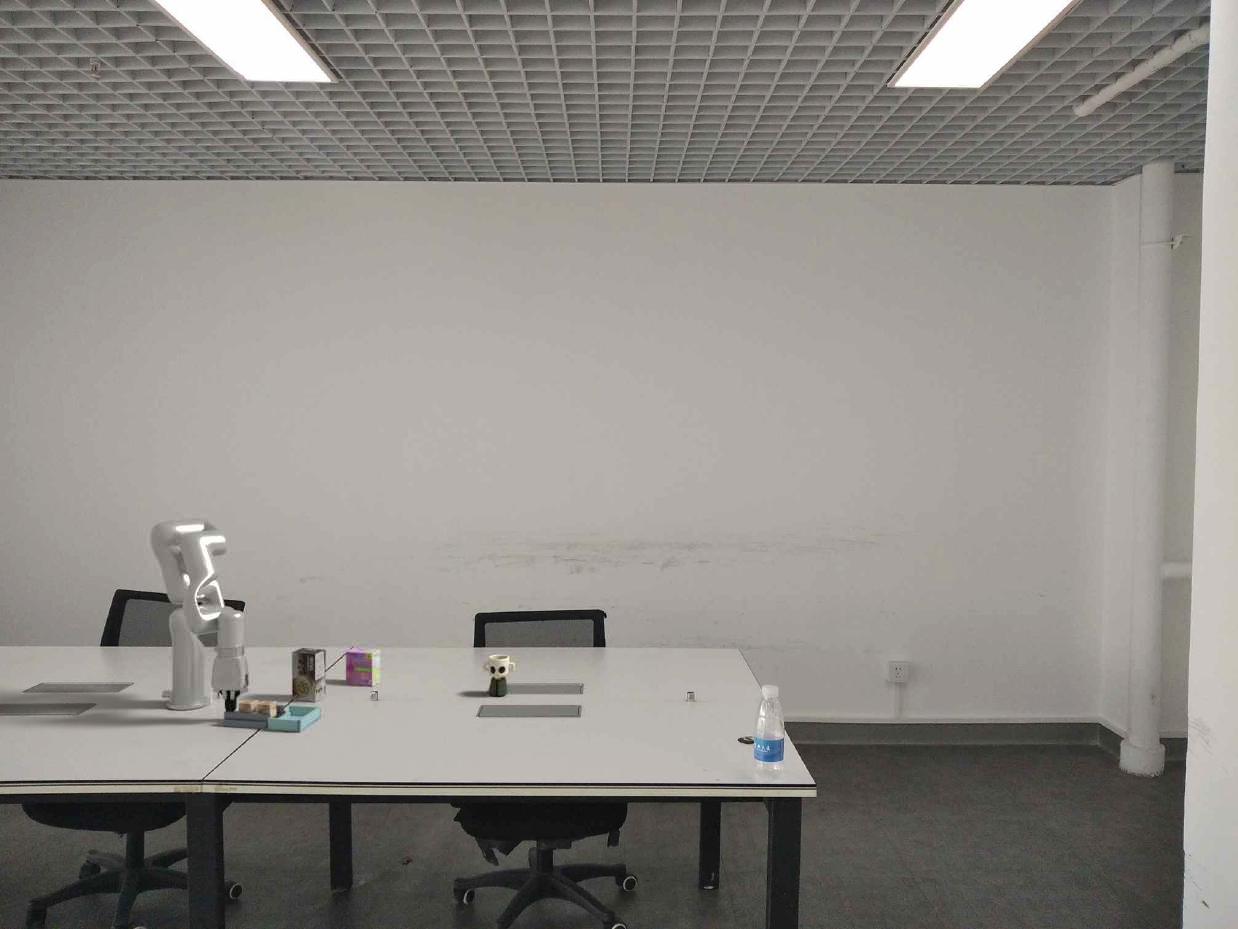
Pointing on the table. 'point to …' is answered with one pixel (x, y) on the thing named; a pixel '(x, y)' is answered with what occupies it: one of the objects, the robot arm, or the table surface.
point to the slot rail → (250, 718)
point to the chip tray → (295, 719)
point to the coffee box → (308, 674)
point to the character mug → (498, 673)
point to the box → (362, 667)
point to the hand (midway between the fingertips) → (230, 711)
